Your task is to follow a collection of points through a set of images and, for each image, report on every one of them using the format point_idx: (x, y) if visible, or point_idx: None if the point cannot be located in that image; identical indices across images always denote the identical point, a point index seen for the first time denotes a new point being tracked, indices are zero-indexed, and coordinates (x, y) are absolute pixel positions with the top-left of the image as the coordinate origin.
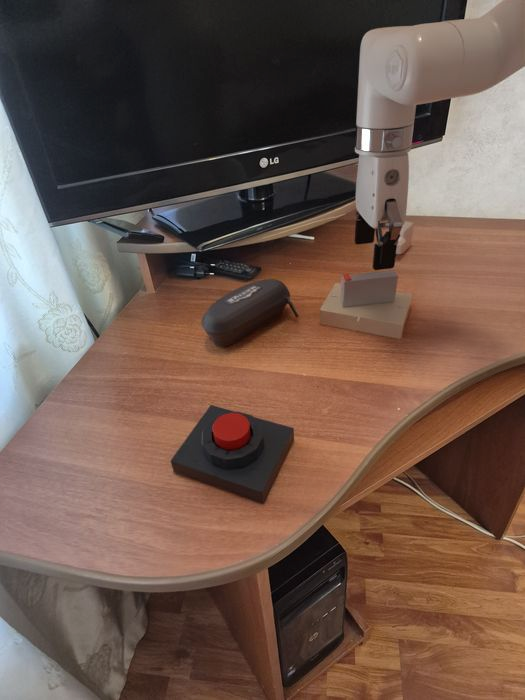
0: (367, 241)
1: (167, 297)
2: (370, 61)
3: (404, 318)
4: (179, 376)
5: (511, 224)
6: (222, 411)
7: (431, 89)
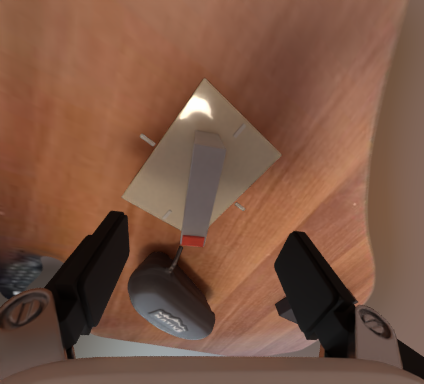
0: (125, 232)
1: (102, 322)
2: None
3: (270, 145)
4: (225, 316)
5: None
6: (289, 311)
7: None
